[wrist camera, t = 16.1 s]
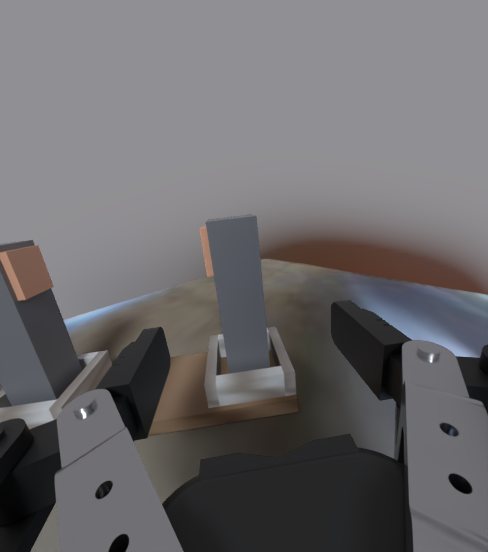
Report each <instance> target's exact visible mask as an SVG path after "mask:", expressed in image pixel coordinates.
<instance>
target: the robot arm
mask: <svg viewBox="0 0 488 552" xmlns="http://www.w3.org/2000/svg"><path fill="white" fill-rule="evenodd" d="M331 334H332V339H333V341H334V343H335V345H336V346H337V348H338V349H339V350H340V351H341V353H342V354H343V355H344V356H345V358H346V359H347V360H348V361H349V363H350V364H351V365H352V366H353V368H354V369H355V370H356V371H357V373H358V374H359V375H360V376H361V378H362V379H363V380H364V381H365V383H366V384H367V385H368V386H369V388H370V389H371V390H372V391H373V393H374V394H375V395H376V396H377V398H378V399H379V400H386V399H392V398H393V399H394V400H395V402H396V407H395V452H394V459H393V458H391V457H389V456H386V455H384V454H381V453H378V452H375V451H372V450H368V449H363V448H357V446H356V444H355V442H354V441H353V439H352V437H351V435H350V434H347V435H341V436H335V437H329V438H324V439H318V440H313V441H311V442H309V443H307V444H305V445H303V446H301V447H299V448H297V449H295V450H293V451H291V452H289V453H287V454H285V455H283V456H280V457H270V456H260V455H251V454H241V453H236V454H230V455H225V456H219V457H213V458H207V459H201V462H200V473H199V475H198V476H196V477H194V478H192V479H191V480H189V481H187V482H186V483H184V484H183V485H182V486H181V487H179V488H178V489H177V490H175V491H174V492H173V493H172V494H171V495H170V496H169V497H168V498H167V499H166V500H165V501H164V503H163V504H162V503H161V501H160V499H159V497H158V495H157V492H156V490H155V488H154V486H153V484H152V481H151V479H150V477H149V475H148V473H147V470H146V468H145V466H144V464H143V462H142V460H141V457H140V455H139V453H138V451H137V449H136V446H135V444H134V440H139V439H145V438H147V437H148V434H149V431H150V428H151V425H152V422H153V419H154V416H155V413H156V410H157V407H158V404H159V401H160V398H161V395H162V392H163V389H164V386H165V383H166V380H167V377H168V374H169V370H170V363H171V362H170V354H169V350H168V346H167V342H166V338H165V335H164V331H163V329H162V328H161V327H157V328H150V329H144V330H143V331H142V332H141V334H140V336H139V337H138V339H137V340H136V341H135V342H132V343H130V344H129V345H128V346H127V347H125V348H124V349H123V350H122V351H121V353H120V354H119V356H118V357H117V360H115V361H114V363H113V364H112V367H110V368H109V370H108V371H107V373H106V374H105V376H104V377H103V378H102V380H101V381H100V383H99V384H98V386H97V387H96V388H95V390H92V391H89V392H86V393H84V394H82V395H80V396H78V397H77V398H75V399H74V400H72V401H71V402H70V403H69V404H67V405H66V406H65V407H64V408H63V409H62V411H61V412H60V414H59V415H58V418H57V419H55V420H53V421H50V422H47V423H45V424H42V425H40V426H37V427H34V428H32V429H29V428H28V426H27V424H26V422H25V421H24V420H23V419H21V418H15V419H10V420H6V421H3V422H1V423H0V552H30V551H31V549H32V547H33V545H34V543H35V541H36V539H37V537H38V535H39V534H40V532H41V530H42V528H43V526H44V524H45V522H46V520H47V518H48V516H49V514H50V512H51V511H52V509H53V507H54V505H55V503H56V507H57V521H58V534H59V548H60V552H488V345H486V346H484V347H483V348H482V353H481V357H480V358H474V357H457V356H455V355H454V354H453V353H452V352H451V351H450V350H448V349H447V348H445V347H443V346H441V345H438V344H435V343H432V342H428V341H421V340H411V339H410V338H408V337H407V336H406V335H404V334H403V333H401V332H400V331H399V330H397V329H396V328H394V327H393V326H392V325H389V323H387V322H386V321H385V320H382V318H381V317H379V316H378V315H376V314H375V313H373V312H370V311H368V310H365V309H361V308H360V307H358V306H357V305H356V304H354V303H353V302H352V301H350V300H346V301H339V302H333V303H332V305H331Z"/></svg>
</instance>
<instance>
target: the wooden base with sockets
mask: <svg viewBox="0 0 488 552" xmlns="http://www.w3.org/2000/svg"><path fill="white" fill-rule="evenodd" d="M267 338H268V349H269V360H270V368H264V369H257V370H251V371H244V372H237V373H231V374H229V369H228V363H227V356H226V350H225V343H224V337H223V334H220V335H213V336H210V338H209V347H208V352H204V353H198V354H191V355H184V356H177V357H170V362H171V363H170V370H169V374H168V377H167V380H166V383H165V386H164V389H163V392H162V395H161V398H160V401H159V404H158V407H157V410H156V413H155V416H154V419H153V422H152V425H151V428H150V431H149V434H148V436H151V435H157V434H164V433H170V432H176V431H182V430H189V429H195V428H201V427H207V426H214V425H220V424H226V423H232V422H239V421H245V420H251V419H257V418H263V417H270V416H276V415H282V414H288V413H295V412H299V411H298V398H297V395H296V382H295V371H294V368H293V366H292V364H291V361H290V359H289V357H288V354H287V352H286V350H285V348H284V345H283V343H282V341H281V338H280V336H279V334H278V331H277V329H276V327H269V328H267ZM77 358H78V360H79V363H80V366H81V368H82V372H81V373H80V374H79V375H78V376H77V377H76V379H75V380H74V381H73V382H72V383H71V384H70V385H69V387H68V388H67V389H66V390H65V391H64V392H63V393H62V395H61V396H60V397H59V398H58V399H57V400H50V401H44V402H37V403H30V404H24V405H17V406H12V405H11V403H10V402H9V400H8V398H7V396H6V394H5V392H4V390H3V389H1V390H0V423H1V422H3V421H6V420H10V419H15V418H21V419H23V420H24V421H25V422H26V424H27V426H28V428H29V429H32V428H34V427H37V426H40V425H42V424H45V423H47V422H50V421H53V420H55V419H57V418H58V415H59V414H60V412H61V411H62V409H63V408H64V407H65V406H66V405H67V404H69V403H70V402H71V401H72V400H74V399H75V398H77V397H78V396H80V395H82V394H84V393H86V392H89V391H92V390H95V388H96V387H97V386H98V384H99V383H100V381H101V380H102V378H103V377H104V376H105V374H106V373H107V371H108V370H109V368H110V367H112V362H111V359H110V356H109V353H108V350H107V351H100V352H93V353H86V354H78V355H77Z"/></svg>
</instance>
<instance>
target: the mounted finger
mask: <svg viewBox="0 0 488 552" xmlns="http://www.w3.org/2000/svg"><path fill="white" fill-rule="evenodd" d="M52 287H53V284H52V281H51V279H50V276H49V273H48V271H47V268H46V265H45V262H44V260H43V257H42V254H41V252H40V250H39V247H38V246H35V245H34V243H33V240H29V241H21V242H13V243H3V244H0V384H1V386H2V388H3V390H4V392H5V394H6V396H7V398H8V400H9V402H10V403H11V405H12V406H17V405H24V404H30V403H37V402H44V401H50V400H57V399H58V398H59V397H60V396H61V395H62V393H63V392H64V391H65V390H66V389H67V388H68V387H69V385H70V384H71V383H72V382H73V381H74V380H75V379H76V377H77V376H78V375H79V374H80V373H81V372H82V368H81V366H80V363H79V360H78V358H77V355H76V352H75V350H74V347H73V345H72V342H71V339H70V337H69V334H68V331H67V329H66V326H65V324H64V321H63V318H62V316H61V313H60V310H59V308H58V305H57V303H56V300H55V297H54V295H53V292H52V290H51V288H52Z"/></svg>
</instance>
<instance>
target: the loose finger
mask: <svg viewBox="0 0 488 552" xmlns="http://www.w3.org/2000/svg"><path fill="white" fill-rule="evenodd" d="M257 229H258V228H257V218H256V216H254V215H243V216H234V217H226V218H217V219H209V220H207V221H206V226H202V227H201V228H200V229H199V230H200V235H201V242H202V248H203V254H204V260H205V266H206V272H207V277H208V276H214V279H215V286H216V292H217V298H218V305H219V311H220V318H221V324H222V331H223V337H224V343H225V350H226V356H227V363H228V369H229V374H231V373H237V372H244V371H251V370H257V369H264V368H270V360H269V349H268V338H267V327H266V316H265V305H264V294H263V283H262V272H261V261H260V251H259V240H258V230H257Z"/></svg>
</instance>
